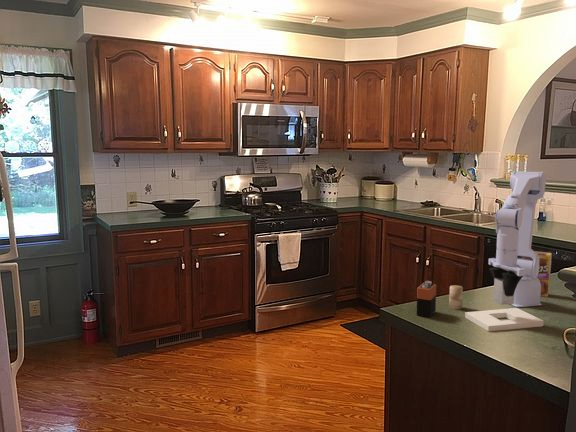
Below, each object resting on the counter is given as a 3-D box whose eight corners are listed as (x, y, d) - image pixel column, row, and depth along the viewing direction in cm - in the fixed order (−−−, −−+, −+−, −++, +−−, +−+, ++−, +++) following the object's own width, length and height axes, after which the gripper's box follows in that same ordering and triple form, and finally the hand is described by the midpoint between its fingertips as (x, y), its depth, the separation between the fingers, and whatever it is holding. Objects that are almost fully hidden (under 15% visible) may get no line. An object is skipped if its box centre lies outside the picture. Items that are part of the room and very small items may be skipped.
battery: (435, 311, 158) (436, 281, 156) (429, 318, 152) (430, 286, 151) (422, 309, 160) (423, 279, 159) (415, 315, 154) (416, 284, 153)
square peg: (505, 299, 150) (506, 277, 149) (513, 303, 146) (514, 280, 145) (493, 300, 149) (494, 278, 148) (501, 304, 145) (502, 281, 144)
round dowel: (457, 305, 164) (458, 284, 163) (464, 309, 160) (465, 288, 159) (446, 306, 163) (447, 285, 162) (453, 310, 159) (453, 289, 158)
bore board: (516, 312, 156) (516, 307, 156) (543, 326, 144) (543, 320, 144) (465, 317, 152) (465, 312, 152) (488, 331, 141) (488, 326, 140)
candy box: (519, 293, 176) (522, 251, 174) (521, 290, 179) (524, 249, 177) (547, 297, 171) (550, 254, 169) (549, 294, 175) (552, 252, 172)
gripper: (480, 244, 151) (478, 287, 153) (510, 254, 137) (508, 302, 139) (500, 243, 153) (498, 286, 155) (533, 253, 139) (530, 300, 141)
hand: (504, 293), depth 147 cm, fingers closed on square peg, 4 cm apart
